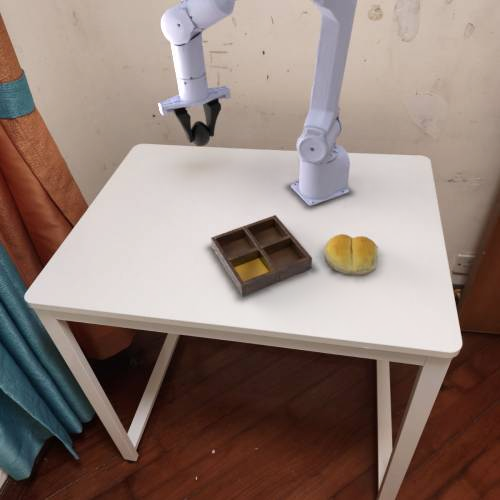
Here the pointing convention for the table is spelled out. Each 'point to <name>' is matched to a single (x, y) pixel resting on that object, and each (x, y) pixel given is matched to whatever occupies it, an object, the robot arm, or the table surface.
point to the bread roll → (351, 254)
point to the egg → (200, 134)
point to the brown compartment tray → (260, 254)
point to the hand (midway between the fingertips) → (200, 137)
